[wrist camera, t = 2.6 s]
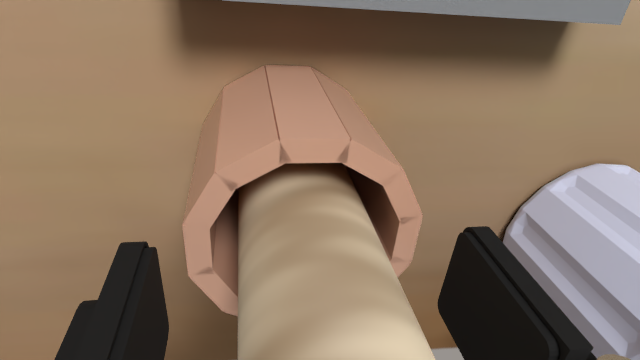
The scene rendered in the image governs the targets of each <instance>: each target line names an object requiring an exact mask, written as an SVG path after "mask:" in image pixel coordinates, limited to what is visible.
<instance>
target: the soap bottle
mask: <svg viewBox="0 0 640 360" xmlns="http://www.w3.org/2000/svg"><path fill="white" fill-rule="evenodd" d="M503 244H504V245H505V246H506V247H507V248H508V249H509V251H510V252H511V253H512V254H513V255H514V256H515V257H516V259H517V260H518V261H519V262H520V263H521V264H522V265H523V267H524V268H525V269H526V270H527V271H528V272H529V274H530V275H531V276H532V277H533V278H534V279H535V280H536V282H537V283H538V284H539V285H540V286H541V287H542V289H543V290H544V291H545V292H546V293H547V294H548V295H549V297H550V298H551V299H552V300H553V301H554V302H555V303H556V305H557V306H558V307H559V308H560V309H561V310H562V312H563V313H564V314H565V315H566V316H567V317H568V318H569V320H570V321H571V322H572V323H573V324H574V325H575V326H576V328H577V329H578V330H579V331H580V332H581V333H582V335H583V336H584V337H585V338H586V339H587V340H588V341H589V343H590V344H591V345H592V346H593V347H594V348H593V350H592V351H591V352H592V353H593V354H594V356H595V357H596V358H598V357H600V356H602V355H605V354H615V355H619V356H623V357H626V358H629V359H631V360H640V173H639V172H637V171H636V170H634V169H632V168H630V167H629V166H627V165H615V164H598V163H597V164H594V165H590V166H586V167H583V168H579V169H575V170H572V171H569V172H567V173H566V174H564V175H562V176H560V177H559V178H557V179H555V180H553V181H551V182H550V183H548V184H546V185H544V186H543V187H542V188H541V189H540V190H538V191H537V192H536V193H535V194H534V195H533V196H532V197H531V198H530V199H529V200H528V201H527V202H525V203H524V204H523V205H522V206H521V207H520V209H519V210H518V212H517V213H516V215H515V216H514V218H513V220H512V221H511V223H510V224H509V226H508V227H507V229H506V232H505V236H504V239H503Z"/></svg>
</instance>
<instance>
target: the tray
mask: <svg viewBox="0 0 640 360" xmlns="http://www.w3.org/2000/svg"><path fill="white" fill-rule="evenodd" d="M224 1H240V2H256V3H272V4H289V5H305V6H321V7H337V8H354V9H370V10H386V11H402V12H419V13H435V14H451V15H468V16H484V17H500V18H516V19H533V20H549V21H565V22H581V23H598V24H614V25H620V24H621V22H622V20H623V17H624V15H625V12H626V10H627V8H628V5H629V3H630V1H631V0H224Z"/></svg>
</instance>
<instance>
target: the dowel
mask: <svg viewBox="0 0 640 360" xmlns="http://www.w3.org/2000/svg"><path fill="white" fill-rule="evenodd" d="M238 360H435V358H434V355H433V353H432V351H431V349H430V347H429V345H428V342H427V340H426V338H425V336H424V334H423V332H422V330H421V327H420V325H419V323H418V321H417V319H416V317H415V315H414V312H413V310H412V308H411V306H410V304H409V302H408V300H407V297H406V295H405V293H404V291H403V289H402V287H401V285H400V282H399V280H398V278H397V276H396V274H395V272H394V270H393V267H392V265H391V263H390V261H389V259H388V257H387V255H386V252H385V250H384V248H383V246H382V244H381V242H380V239H379V237H378V235H377V233H376V231H375V229H374V227H373V224H372V222H371V220H370V218H369V216H368V214H367V212H366V209H365V207H364V205H363V203H362V201H361V199H360V197H359V194H358V192H357V190H356V188H355V186H354V184H353V182H352V179H351V177H350V175H349V173H348V171H347V169H346V167H345V164H343V163H285V164H283V165H281V166H279V167H278V168H276V169H274V170H272V171H270V172H268V173H266V174H264V175H262V176H260V177H258V178H256V179H254V180H252V181H250V182H248V183H246V184H244V185H242V186H240V187H239V211H238Z"/></svg>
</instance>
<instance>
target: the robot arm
mask: <svg viewBox="0 0 640 360" xmlns="http://www.w3.org/2000/svg"><path fill="white" fill-rule="evenodd" d="M438 310H439V313H440V315H441V317H442V319H443V320H444V322H445V324H446V326H447V328H448V330H449V332H450V333H451V335H452V337H453V339H454V341H455V343H456V345H457V347H458V348H459V350H460V352H461V354H462V356H463V358H464V360H631V359H629V358H626V357H623V356H619V355H615V354H605V355H602V356H600V357H598V358H596V357H595V356H594V354H593V353H592V352H591V351H592V350H593V348H594V347H593V346H592V345H591V344H590V343H589V341H588V340H587V339H586V338H585V337H584V336H583V335H582V333H581V332H580V331H579V330H578V329H577V328H576V326H575V325H574V324H573V323H572V322H571V321H570V320H569V318H568V317H567V316H566V315H565V314H564V313H563V312H562V310H561V309H560V308H559V307H558V306H557V305H556V303H555V302H554V301H553V300H552V299H551V298H550V297H549V295H548V294H547V293H546V292H545V291H544V290H543V289H542V287H541V286H540V285H539V284H538V283H537V282H536V280H535V279H534V278H533V277H532V276H531V275H530V274H529V272H528V271H527V270H526V269H525V268H524V267H523V265H522V264H521V263H520V262H519V261H518V260H517V259H516V257H515V256H514V255H513V254H512V253H511V252H510V251H509V249H508V248H507V247H506V246H505V245H504V244H503V242H502V241H501V240H500V239H499V238H498V237H497V236H496V234H495V233H494V232H493V231H492V230H491V229H490V228H489V227H486V226H485V227H468V228H466V229H465V230H464V231H463V233H460V234H459V235H458V238H457V241H456V244H455V248H454V251H453V254H452V257H451V260H450V264H449V267H448V270H447V273H446V276H445V279H444V283H443V286H442V289H441V292H440V295H439V299H438ZM168 332H169V323H168V316H167V310H166V304H165V298H164V291H163V285H162V279H161V273H160V267H159V261H158V254H157V249H156V247H149V246H148V243H147V242H125V243H121V244H120V245H119V247H118V250H117V253H116V255H115V258H114V260H113V263H112V265H111V268H110V270H109V273H108V275H107V278H106V280H105V283H104V285H103V288H102V290H101V293H100V295H99V298H98V300H91V301H83V302H82V303H81V304H80V305H79V307H78V308H77V310H76V312H75V315H74V317H73V319H72V321H71V324H70V326H69V328H68V331H67V333H66V335H65V337H64V340H63V342H62V344H61V346H60V349H59V351H58V353H57V355H56V358H55V360H164V356H165V351H166V345H167V340H168Z"/></svg>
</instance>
